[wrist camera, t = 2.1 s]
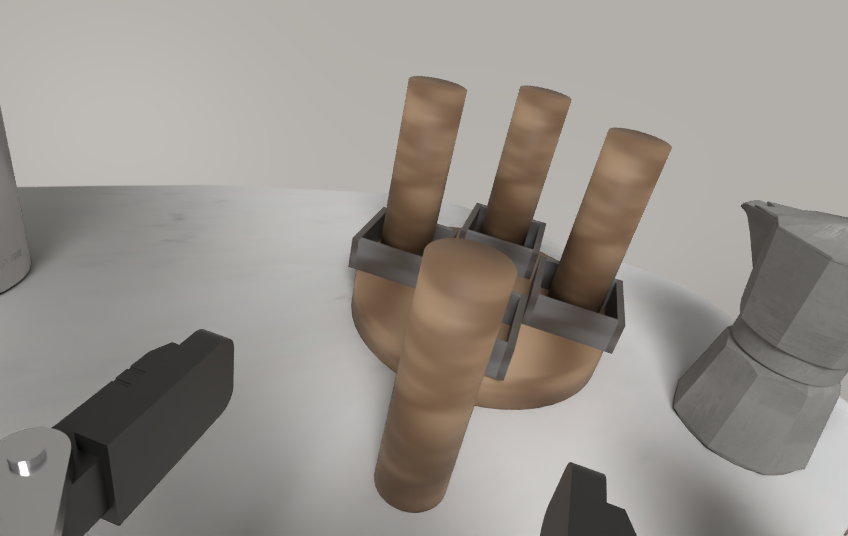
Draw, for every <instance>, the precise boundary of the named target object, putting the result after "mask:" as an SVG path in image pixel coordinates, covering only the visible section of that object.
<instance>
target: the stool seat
mask: <svg viewBox="0 0 848 536" xmlns="http://www.w3.org/2000/svg"><path fill="white" fill-rule="evenodd" d="M466 93H467V90H466V89H465V88H464V87H462V86H460V85H458V84H456V83H453V82H449V81H446V80H442V79H437V78H432V77H423V76H413V77H410V78H409V81H408V87H407V93H406V99H405V105H404V110H403V116H402V122H401V128H400V134H399V139H398V146H397V151H396V157H395V162H394V168H393V174H392V180H391V185H390V191H389V197H388V203H387V208H385V207H383V208H382V209H381V210H380V211H379V212H378V213H377V214H376V215H375V216H374V217H373V218H372V219H371V220H370V221H369V222H368V223H367V224H366V225H365V226H364V227H363V228H362V229H361V230H360V231H359V232H358V233H357V234H356V235H355V236H354V237H353V239H352V246H351V253H350V260H349V267H351V268H354V269H357V271H356V278H355V284H354V291H353V297H352V304H351V307H352V317H353V320H354V323H355V327H356V328H357V330H358V332H359V334H360V336H361V338H362V339H363V341H364V342H365V344H366V345H367V346H368V348H369V349H370V350H371V351H372V352H373V353H374V354H375V355H376V356H377V357H378V358H379V359H380V360H381V361H382V362H383V363H384V364H386V365H387V366H388V367H389V368H390V369H392V370H393V371H394V372H396V373H397V370H398V365H399V361H400V356H401V352H402V347H403V343H404V338H405V334H406V329H407V325H408V320H409V316H410V311H411V307H412V302H413V298H414V293H415V289H416V284H417V280H418V275H419V271H420V266H421V262H422V257H423V253H424V249H425V247H426V246H427V245H428V244H429V243H431V242H433V241H435V240H439V239H444V238H462V239H469V240H473V241H477V242H481V243H483V244H486V245H489V246H491V247H493V248H495V249H497V250H499V251H500V252H502V253H503V254H505V255H506V256H507V257H509V258H510V259H511V260H512V262H513V263H514V264H515V266H516V269H517V277H516V280H515V283H514V286H513V290H512V293H511V296H510V299H509V302H508V305H507V308H506V311H505V314H504V317H503V320H502V323H501V326H500V329H499V332H498V335H497V338H496V341H495V344H494V347H493V350H492V353H491V356H490V359H489V362H488V365H487V368H486V371H485V374H484V377H483V380H482V383H481V386H480V389H479V392H478V395H477V399H476V402H475V406H479V407H486V408H494V409H510V410H522V409H532V408H540V407H544V406H549V405H553V404H555V403H558V402H561V401H563V400H566V399H568V398H569V397H571V396H573V395H574V394H576V393H577V392H579V391H580V390H581V389H582V388H583V387H584V386H585V385H586V384H587V382H588V381H589V380H590V378H591V377H592V375H593V372H594V370H595V368H596V366H597V364H598V362H599V359H600V357H601V355H602V353H603V351H605V352H608V353H611V354H612V353H613V350H614V348H615V346H616V344H617V342H618V340H619V338H620V336H621V334H622V332H623V329H624V327H625V313H624V295H623V281H621V280H618V279H615V276H616V274H617V272H618V269H619V267H620V265H621V263H622V260H623V258H624V256H625V253H626V251H627V249H628V246H629V244H630V242H631V239H632V237H633V235H634V233H635V231H636V228H637V226H638V223H639V222H640V219H641V217H642V215H643V212H644V210H645V208H646V206H647V203H648V201H649V199H650V196H651V194H652V192H653V189H654V187H655V185H656V183H657V180H658V178H659V176H660V174H661V171H662V169H663V167H664V164H665V162H666V160H667V158H668V155H669V153H670V151H671V149H672V147H671V145H670V144H668V143H667V142H665V141H663V140H661V139H659V138H657V137H654V136H652V135H649V134H646V133H642V132H639V131H635V130H630V129H625V128H611V129H609V131H608V133H607V136H606V138H605V141H604V144H603V147H602V149H601V152H600V155H599V157H598V160H597V163H596V165H595V168H594V171H593V174H592V176H591V179H590V182H589V184H588V187H587V190H586V193H585V195H584V198H583V200H582V203H581V206H580V208H579V211H578V214H577V217H576V219H575V222H574V225H573V227H572V231H571V233H570V235H569V238H568V241H567V244H566V246H565V249H564V252H563V254H562V257H561V260H560V261H557V260H555V259H553V258H551V257H550V256H548V255H546V254H544V253H542V252H540V251H539V250H540V246H541V242H542V238H543V234H544V230H545V226H546V223H543V222H539V221H536V220H533V216H534V213H535V210H536V207H537V204H538V201H539V198H540V195H541V191H542V189H543V186H544V183H545V180H546V177H547V173H548V170H549V167H550V164H551V161H552V158H553V155H554V152H555V149H556V146H557V143H558V139H559V137H560V134H561V131H562V127H563V124H564V121H565V118H566V115H567V112H568V109H569V106H570V103H571V98H570V97H568V96H566V95H564V94H562V93H559V92H556V91H552V90H549V89H545V88H540V87H535V86H521V87H520V89H519V93H518V97H517V100H516V104H515V108H514V111H513V115H512V118H511V122H510V126H509V129H508V133H507V137H506V141H505V144H504V148H503V151H502V155H501V158H500V162H499V166H498V169H497V173H496V176H495V180H494V184H493V188H492V191H491V195H490V198H489V202H488V205H487V206H486V205H482V204H479V203H477V204H476V206H475V207H474V209H473V210H472V212H471V214H470V215H469V217H468V219H467V220H466V222H465V224H464V226H463V227H462V228H455V227H446V226H443V225H440V224H437V220H438V216H439V212H440V207H441V203H442V198H443V194H444V190H445V185H446V181H447V176H448V172H449V168H450V163H451V159H452V155H453V150H454V146H455V141H456V137H457V132H458V128H459V124H460V119H461V115H462V111H463V106H464V102H465V97H466Z"/></svg>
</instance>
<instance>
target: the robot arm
mask: <svg viewBox="0 0 848 536" xmlns="http://www.w3.org/2000/svg"><path fill="white" fill-rule="evenodd" d="M30 266H31V258H30V253H29V248H28V243H27V238H26V233H25V228H24V223H23V218H22V212H21V206H20V201H19V196H18V191H17V187H16V182H15V177H14V172H13V167H12V162H11V157H10V152H9V148H8V142H7V137H6V132H5V127H4V122H3V117H2V112H1V108H0V293H1V292H3V291H5V290H7V289H9V288H10V287H12V286H14V285H15V284H17V283H18V282H19V281H20V280H21V279H22V278H24V277H25V275H26V274H27V272H28V271H29V269H30ZM233 373H234V344H233V341H232V340H231V339H229V338H226V337H223V336H220V335H218V334H215V333H212V332H209V331H206V330H204V329H200V330H198V331H196V332H194V333H193V334H192V335H191V336H190V337H188V338H187V339H186V340H185V341H183V342H182V343H181V344H180V345H178V344H176V343H173V342H172V343H169V344H167V345H164V346H162V347H159V348H157V349H155V350H152V351H150V352H148V353H147V354H145V355H144V356H143V357H142V358H140V359H139V360H138V361H137V362H135V363H134V364H133V365H131V367H130V369H126V370H125V371H124V372H123V373H121V374H120V375H119V376H117V377H116V379H115V381H111V382H110V383H109V384H107V385H106V386H105V387H103V388H102V389H101V390H100V391H98V392H97V393H96V394H95V395H93V396H92V397H91V398H89V399H88V400H87V401H86V402H84V403H83V404H82V405H81V406H79V407H78V408H77V409H75V410H74V411H73V412H72V413H70V414H69V415H68V416H67V417H65V418H64V419H63V420H61V421H60V422H59V423H58V424H56V425H55V426H53V427H52V428H32V429H26V430H23V431H19V432H17V433H14V434H11V435H9V436H7V437H5V438H4V439H2V440H0V536H88V531H89V530H90V529H91V528H92V526H93V525H94V524H95V523H96V522H97V521H98V520H99V519H100V518H102V519H104V520H106V521H109V522H111V523H113V524H115V525H118V526H120V525H121V524H122V523H123V521H124V520H125V519H126V518H127V517H128V516H129V515H130V514H131V513H132V512H133V510H134V509H135V508H136V507H137V506H138V505H139V504H140V503H141V502H142V501H143V499H144V498H145V497H146V496H147V495H148V494H149V493H150V492H151V491H152V490H153V488H154V487H155V486H156V485H157V484H158V483H159V482H160V481H161V480H162V479H163V478H164V476H165V475H166V474H167V473H168V472H169V471H170V470H171V469H172V468H173V467H174V465H175V464H176V463H177V462H178V461H179V460H180V459H181V458H182V457H183V456H184V454H185V453H186V452H187V451H188V450H189V449H190V448H191V447H192V446H193V445H194V443H195V442H196V441H197V440H198V439H199V438H200V437H201V436H202V435H203V434H204V432H205V431H206V430H207V429H208V428H209V427H210V426H211V425H212V424H213V423H214V422H215V420H216V419H217V418H218V417H219V416H220V415H221V414H222V413H223V411H224V410H225V408H226V407H227V405H228V403H229V401H230V398H231V396H232V392H233ZM540 536H637V535H636V533H635V531H634V528H633V526H632V524H631V522H630V520H629V517H628V515H627V513H626V511H625V509H622V508H619V507H617V506H614V505H611V504H609V503H607V490H606V476H605V475H604V474H602V473H599V472H596V471H594V470H591V469H588V468H585V467H583V466H580V465H577V464H574V463H571V462H570V463H568V465H567V467H566V469H565V471H564V473H563V475H562V477H561V479H560V482H559V484H558V486H557V488H556V490H555V492H554V494H553V497H552V499H551V501H550V503H549V505H548V508H547V510H546V513H545V516H544V520H543V524H542V528H541V533H540Z"/></svg>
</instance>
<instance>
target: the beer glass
mask: <svg viewBox="0 0 848 536" xmlns="http://www.w3.org/2000/svg"><path fill="white" fill-rule="evenodd" d="M840 536H848V527H847V528H846V530H845V531H844V532H843V533H842V534H841V535H840Z"/></svg>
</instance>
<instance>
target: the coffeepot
mask: <svg viewBox="0 0 848 536" xmlns="http://www.w3.org/2000/svg"><path fill="white" fill-rule="evenodd" d="M741 207H742V208H743V209H744V210H745V212H746V214H747V217H748V223H749V229H750V238H751V250H752V262H753V270H752V272H751V275H750V278H749V280H748V283H747V285H746V288H745V291H744V293H743V296H742V298H741V304H740V314H739V316H738V318H737V319H736V321H735V322H734V324H733V325H732V326H729V327H727V328H726V329H725V330H724V331H723V332H722V333H721V334H720V336H719V337H718V338H717V339H716V340H715V341H714V342H713V343H712V344H711V346H710V347H709V348H708V349H707V350H706V351H705V352H704V353H703V354H702V355H701V357H700V358H699V359H698V360H697V361H696V362H695V363H694V364H693V365H692V367H691V368H690V369H689V370H688V371H687V372H686V373H685V374H684V375H683V377H682V378H681V379H680V380H679V382H678V387H677V390H676V394H675V403H674V409H675V410H676V412H677V414H678V415H679V417H680V419H681V420H682V422H683V423H684V424H685V426H686V427H687V428H688V430H689V431H690V432H691V433H692V434H693V435H694V436H695V437H696V438H697V439H698V440H699V441H700V442H702V443H703V444H704V445H705V446H706V447H708V448H709V449H710V450H712V451H713V452H715V453H716V454H718V455H719V456H721V457H722V458H724V459H726V460H728V461H730V462H732V463H733V464H736V465H738V466H740V467H743V468H745V469H747V470H751V471H754V472H757V473H761V474H764V475H784V474H787V473H791V472H793V471H795V470H801V469H805V468H806V465H807V463H808V461H809V459H810V457H811V455H812V453H813V451H814V448H815V446H816V444H817V442H818V440H819V438H820V436H821V434H822V432H823V429H824V427H825V425H826V423H827V421H828V419H829V417H830V415H831V413H832V410H833V408H834V406H835V404H836V402H837V400H838V398H839V396H840V388H841V384H840V381H841V380H842V379H843V378H844V376H845V375H846V374H847V372H848V218H847V217H842V216H838V215H832V214H828V213H823V212H818V211H806V210H799V209H796V208H792V207H788V206H784V205H780V204H776V203H772V202H767V203H765V202H762V201H759V200H754V201H749V202H745V203H743V204H742V205H741Z"/></svg>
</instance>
